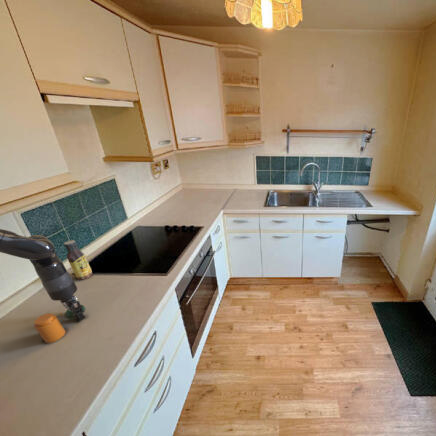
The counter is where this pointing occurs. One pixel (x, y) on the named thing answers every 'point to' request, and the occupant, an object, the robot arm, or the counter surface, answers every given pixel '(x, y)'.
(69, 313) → the lid
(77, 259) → the sauce bottle
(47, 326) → the honey jar
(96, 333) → the counter surface
